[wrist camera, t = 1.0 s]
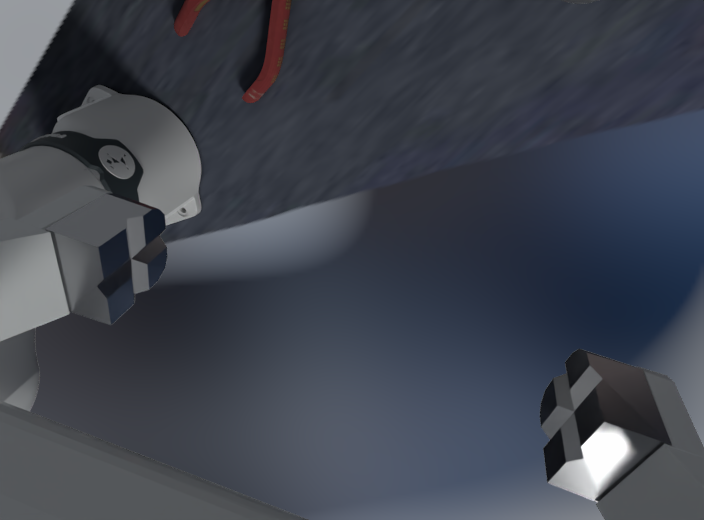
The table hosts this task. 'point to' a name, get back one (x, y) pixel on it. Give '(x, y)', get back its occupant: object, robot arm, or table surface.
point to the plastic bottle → (579, 1)
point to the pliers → (273, 49)
